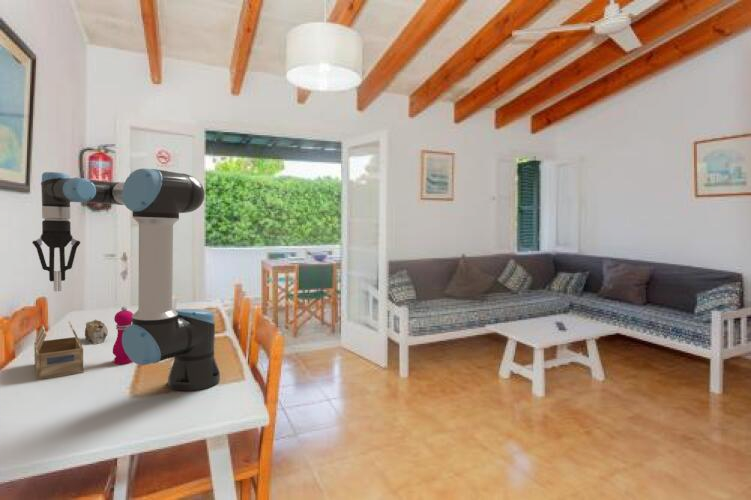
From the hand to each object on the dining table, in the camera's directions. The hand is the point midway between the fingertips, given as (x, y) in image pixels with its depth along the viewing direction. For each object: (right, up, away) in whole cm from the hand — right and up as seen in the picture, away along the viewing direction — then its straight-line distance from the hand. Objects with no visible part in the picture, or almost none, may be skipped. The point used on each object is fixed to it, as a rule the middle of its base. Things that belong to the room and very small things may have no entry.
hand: (57, 290), depth 144 cm
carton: (-1, -26, +1) cm, 26 cm away
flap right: (+3, -15, +4) cm, 16 cm away
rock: (-11, -24, +37) cm, 45 cm away
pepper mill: (+16, -27, +10) cm, 33 cm away
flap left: (-4, -15, -2) cm, 16 cm away
